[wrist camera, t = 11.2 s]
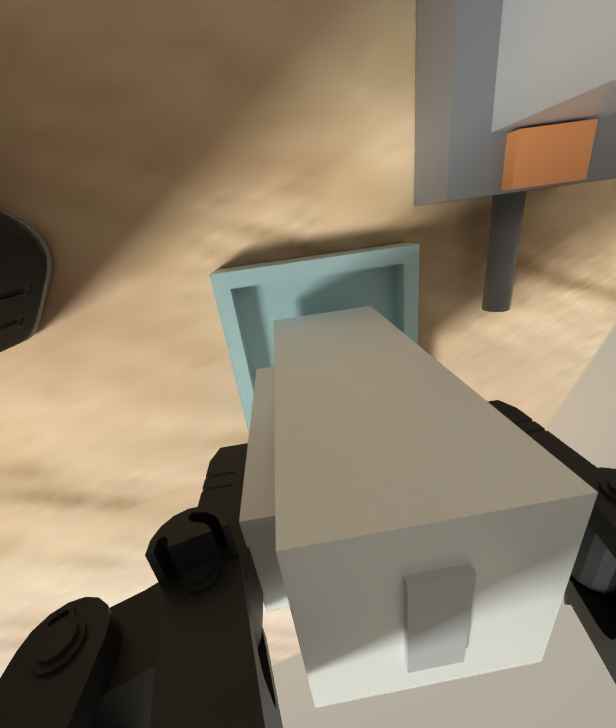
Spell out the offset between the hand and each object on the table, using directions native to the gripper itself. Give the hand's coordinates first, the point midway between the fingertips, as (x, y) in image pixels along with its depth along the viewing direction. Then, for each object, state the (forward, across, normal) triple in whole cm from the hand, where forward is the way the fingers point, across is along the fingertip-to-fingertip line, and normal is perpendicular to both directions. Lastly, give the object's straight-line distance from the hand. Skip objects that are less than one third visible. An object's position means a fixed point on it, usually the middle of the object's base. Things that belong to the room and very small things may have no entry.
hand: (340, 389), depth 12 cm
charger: (+3, 0, 0) cm, 3 cm away
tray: (+5, 0, 0) cm, 5 cm away
